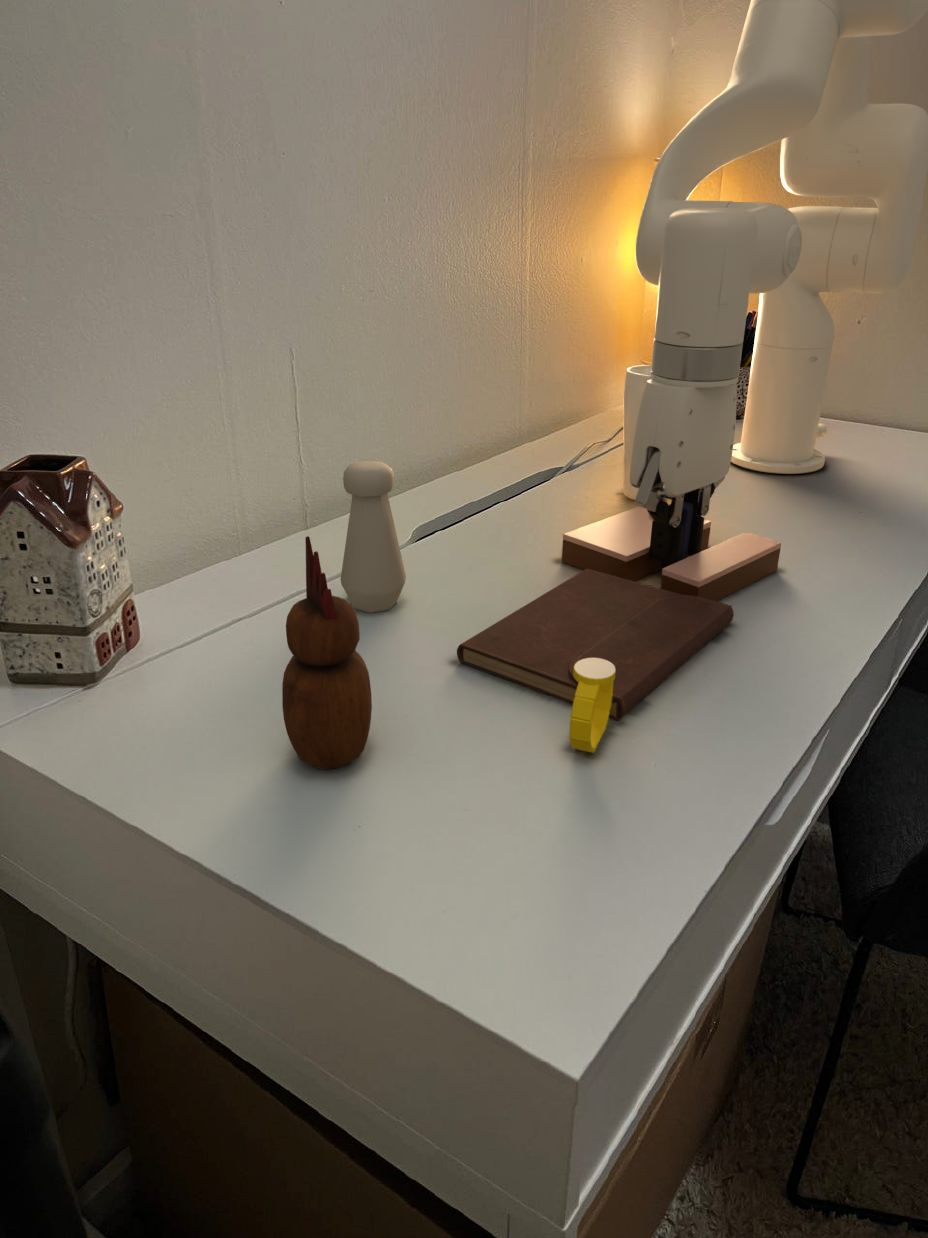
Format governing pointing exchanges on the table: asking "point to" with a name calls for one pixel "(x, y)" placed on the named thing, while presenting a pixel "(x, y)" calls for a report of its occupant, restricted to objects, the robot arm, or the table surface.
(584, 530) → the brown and tan block
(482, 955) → the table surface
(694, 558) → the brown long rectangular block
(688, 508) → the eraser
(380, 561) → the salt shaker
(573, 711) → the watch
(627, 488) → the drinking glass
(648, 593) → the notebook
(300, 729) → the wooden figurine
